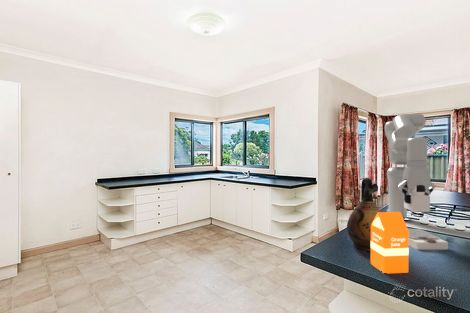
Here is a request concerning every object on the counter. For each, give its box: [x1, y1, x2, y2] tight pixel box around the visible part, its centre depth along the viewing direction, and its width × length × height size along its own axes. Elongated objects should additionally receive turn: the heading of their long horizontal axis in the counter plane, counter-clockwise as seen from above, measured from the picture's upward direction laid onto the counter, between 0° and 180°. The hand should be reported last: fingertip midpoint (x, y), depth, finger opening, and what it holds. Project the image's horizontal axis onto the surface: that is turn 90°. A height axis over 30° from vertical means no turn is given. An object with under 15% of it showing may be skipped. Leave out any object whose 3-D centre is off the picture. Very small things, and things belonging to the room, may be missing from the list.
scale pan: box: [408, 228, 439, 239], centre depth 113 cm, size 11×11×1 cm
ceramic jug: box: [346, 177, 381, 252], centre depth 108 cm, size 17×15×30 cm
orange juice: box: [370, 211, 410, 274], centre depth 88 cm, size 8×9×20 cm
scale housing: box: [408, 237, 449, 251], centre depth 112 cm, size 17×13×4 cm
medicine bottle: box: [404, 185, 431, 213], centre depth 113 cm, size 7×7×12 cm
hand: (416, 202), depth 113 cm, fingers closed on medicine bottle, 7 cm apart
